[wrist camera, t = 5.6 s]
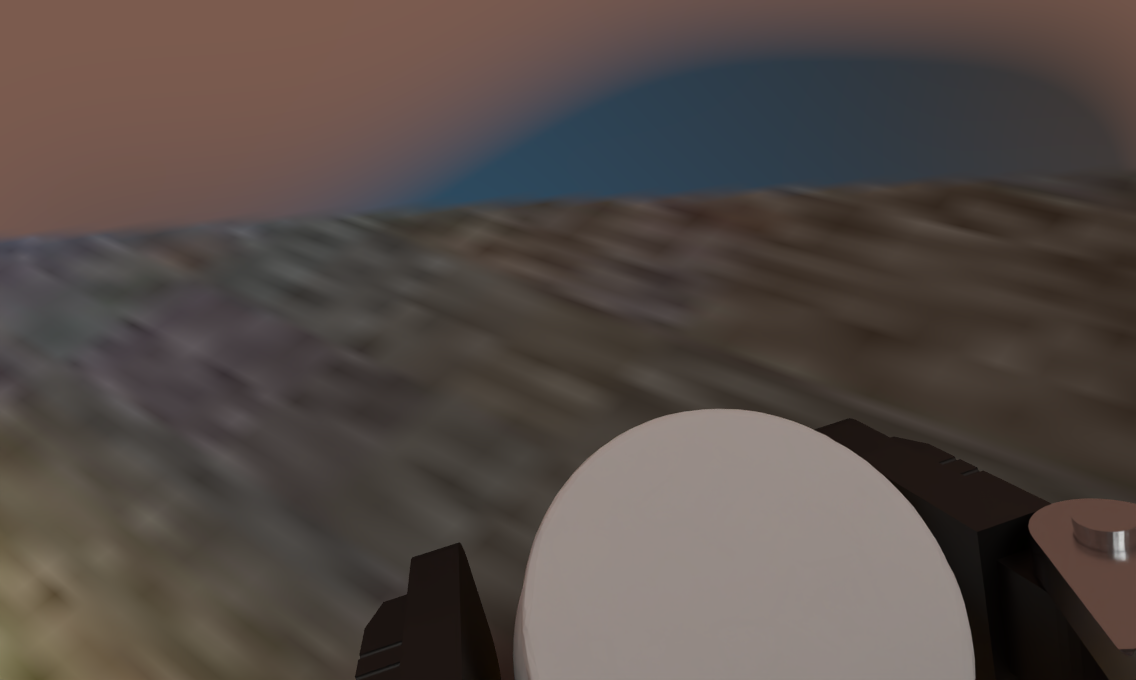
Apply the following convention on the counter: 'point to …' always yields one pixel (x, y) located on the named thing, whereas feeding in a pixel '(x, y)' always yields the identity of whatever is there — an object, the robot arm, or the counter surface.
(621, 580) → the supplement bottle
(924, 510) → the robot arm
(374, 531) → the counter surface
